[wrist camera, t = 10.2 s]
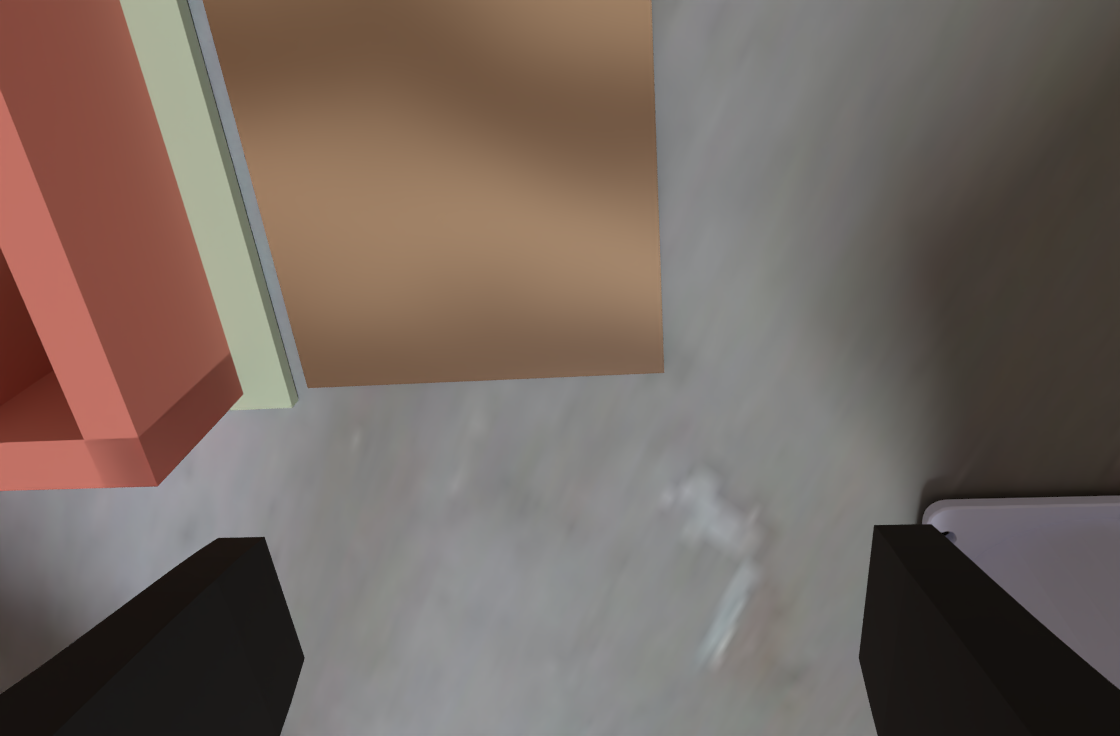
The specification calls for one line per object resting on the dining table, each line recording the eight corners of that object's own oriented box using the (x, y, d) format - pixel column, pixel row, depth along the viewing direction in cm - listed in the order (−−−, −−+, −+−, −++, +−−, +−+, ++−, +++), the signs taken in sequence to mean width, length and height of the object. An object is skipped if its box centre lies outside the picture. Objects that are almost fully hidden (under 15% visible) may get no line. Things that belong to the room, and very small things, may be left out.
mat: (298, 400, 20) (292, 407, 20) (20, 411, 21) (9, 418, 21) (163, -86, 15) (151, -87, 15) (-193, -42, 16) (-212, -44, 16)
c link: (243, 394, 20) (157, 486, 16) (43, 402, 20) (-82, 493, 17) (104, -49, 15) (-57, -56, 12) (-147, -20, 16) (-373, -19, 12)
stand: (663, 367, 19) (674, 497, 14) (312, 382, 20) (212, 509, 15) (637, -399, 12) (639, -628, 8) (125, -318, 13) (-146, -477, 9)
